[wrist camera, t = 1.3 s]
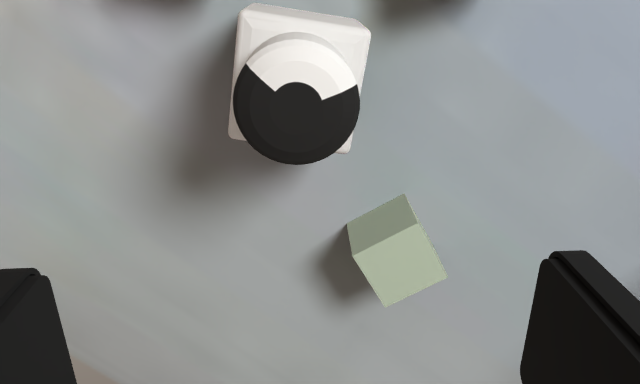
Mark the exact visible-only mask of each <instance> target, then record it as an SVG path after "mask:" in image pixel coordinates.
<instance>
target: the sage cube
mask: <svg viewBox="0 0 640 384" xmlns="http://www.w3.org/2000/svg"><path fill="white" fill-rule="evenodd" d="M347 229H348V235H349V240H350V246H351V252H352V256H353V258H354V260H355V261H356V263H357V264H358V266H359V267H360V269H361V271H362V272H363V274H364V275H365V277H366V278H367V280H368V282H369V283H370V285H371V286H372V288H373V289H374V291H375V292H376V294H377V296H378V297H379V299H380V300H381V302H382V303H383V305H384V307H387V306H389V305H392V304H394V303H396V302H398V301H400V300H402V299H404V298H406V297H408V296H410V295H412V294H414V293H416V292H419V291H421V290H423V289H425V288H427V287H429V286H431V285H433V284H435V283H437V282H439V281H441V280H443V279H445V278H448V276H447V274H446V272H445V270H444V268H443V265H442V263H441V261H440V259H439V257H438V255H437V253H436V251H435V249H434V247H433V245H432V243H431V241H430V239H429V237H428V235H427V234H426V232H425V230H424V228H423V226H422V225H421V223H420V221H419V219H418V217H417V216H416V214H415V212H414V210H413V208H412V207H411V205H410V203H409V201H408V199H407V198H406V196H405V194H402V195H400V196H398V197H396V198H395V199H393V200H391V201H389V202H387V203H385V204H383V205H381V206H379V207H377V208H375V209H374V210H372V211H370V212H368V213H366V214H364V215H362V216H360V217H358V218H356V219H354V220H353V221H351V222H349V223H347Z"/></svg>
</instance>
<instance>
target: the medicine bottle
mask: <svg viewBox="0 0 640 384" xmlns="http://www.w3.org/2000/svg"><path fill="white" fill-rule="evenodd" d="M370 40H371V33H370V31H369V30H368V29H367V28H366V27H365V26H363V25H362V24H361V23H360V22H359V21H357V20H356V19H353V18H347V17H341V16H335V15H328V14H322V13H316V12H310V11H304V10H297V9H291V8H285V7H279V6H273V5H266V4H260V3H252V4H251V5H249V6H247V7H246V8H244V9H243V10H241V11H240V12H239V14H238V22H237V34H236V46H235V57H234V69H233V80H232V92H231V103H230V115H229V127H228V134H229V136H230V137H231V138H232V139H237V140H244V141H247V142H248V143H249V144H250V145H251V146H252V147H253V148H254V149H255V150H257V151H258V152H259V153H261V154H262V155H264V156H266V157H268V158H269V159H272V160H274V161H277V162H281V163H285V164H293V165H301V164H309V163H313V162H317V161H320V160H322V159H324V158H326V157H328V156H330V155H331V154H333V153H340V154H346V153H348V152H349V150H350V147H351V141H352V136H353V130H354V128H355V125H356V122H357V119H358V115H359V110H360V93H361V88H362V82H363V77H364V72H365V66H366V61H367V56H368V50H369V45H370Z"/></svg>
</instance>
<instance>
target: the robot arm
mask: <svg viewBox="0 0 640 384" xmlns="http://www.w3.org/2000/svg"><path fill="white" fill-rule="evenodd" d="M520 375H521V380H522V383H523V384H640V301H639V300H638V299H637V298H635V297H634V296H633V295H632V294H631V293H630V292H629V291H628V290H627V289H626V288H625V287H624V286H623V285H622V284H621V283H620V282H619V281H618V280H617V279H616V278H615V277H613V276H612V275H611V274H610V273H609V272H608V271H607V270H606V269H605V268H604V267H603V266H602V265H601V264H600V263H599V262H598V261H597V260H596V259H595V258H594V257H592V256H591V255H590V254H589V253H588V252H586V251H582V250H580V251H554V252H553V253H551V255H550V256H549V258H548V259H544V260H543V261H542V262H541V264H540V268H539V273H538V278H537V283H536V289H535V294H534V299H533V304H532V309H531V314H530V319H529V324H528V330H527V335H526V340H525V345H524V350H523V355H522V360H521V365H520ZM0 384H77V383H76V379H75V375H74V371H73V367H72V363H71V359H70V356H69V352H68V348H67V344H66V340H65V336H64V333H63V329H62V325H61V321H60V317H59V313H58V310H57V306H56V302H55V298H54V294H53V291H52V287H51V283H50V280H49V278H48V277H47V276H45V275H40V273H39V271H38V270H37V269H35V268H16V269H0Z"/></svg>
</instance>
